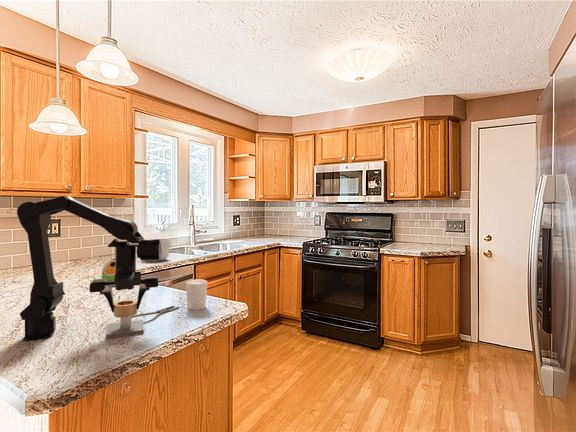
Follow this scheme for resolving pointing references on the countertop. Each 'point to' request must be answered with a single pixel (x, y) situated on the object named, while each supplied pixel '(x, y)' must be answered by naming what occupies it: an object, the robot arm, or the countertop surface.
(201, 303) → the white cup
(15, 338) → the countertop surface
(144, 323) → the pliers
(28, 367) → the countertop surface
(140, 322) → the grey peg stand
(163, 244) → the planter
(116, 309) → the ring
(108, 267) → the turtle holder
